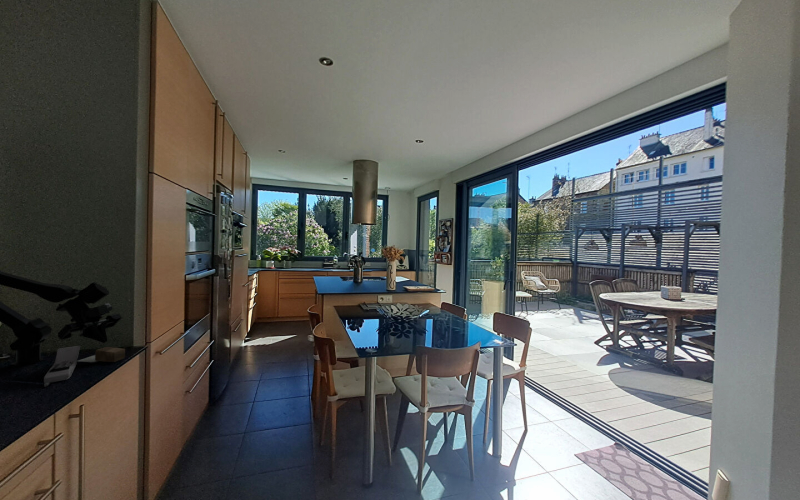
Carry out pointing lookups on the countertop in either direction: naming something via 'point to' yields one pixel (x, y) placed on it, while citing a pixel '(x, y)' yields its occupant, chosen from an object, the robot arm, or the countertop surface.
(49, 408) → the countertop surface
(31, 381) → the countertop surface
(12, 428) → the countertop surface
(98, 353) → the walnut block
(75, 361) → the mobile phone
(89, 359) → the grey mat
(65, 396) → the countertop surface
